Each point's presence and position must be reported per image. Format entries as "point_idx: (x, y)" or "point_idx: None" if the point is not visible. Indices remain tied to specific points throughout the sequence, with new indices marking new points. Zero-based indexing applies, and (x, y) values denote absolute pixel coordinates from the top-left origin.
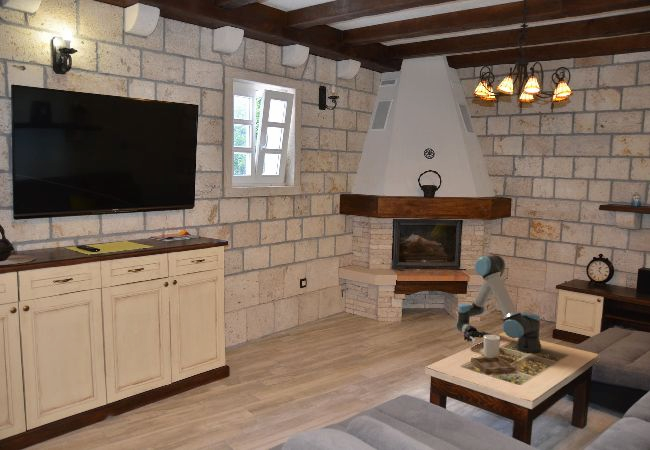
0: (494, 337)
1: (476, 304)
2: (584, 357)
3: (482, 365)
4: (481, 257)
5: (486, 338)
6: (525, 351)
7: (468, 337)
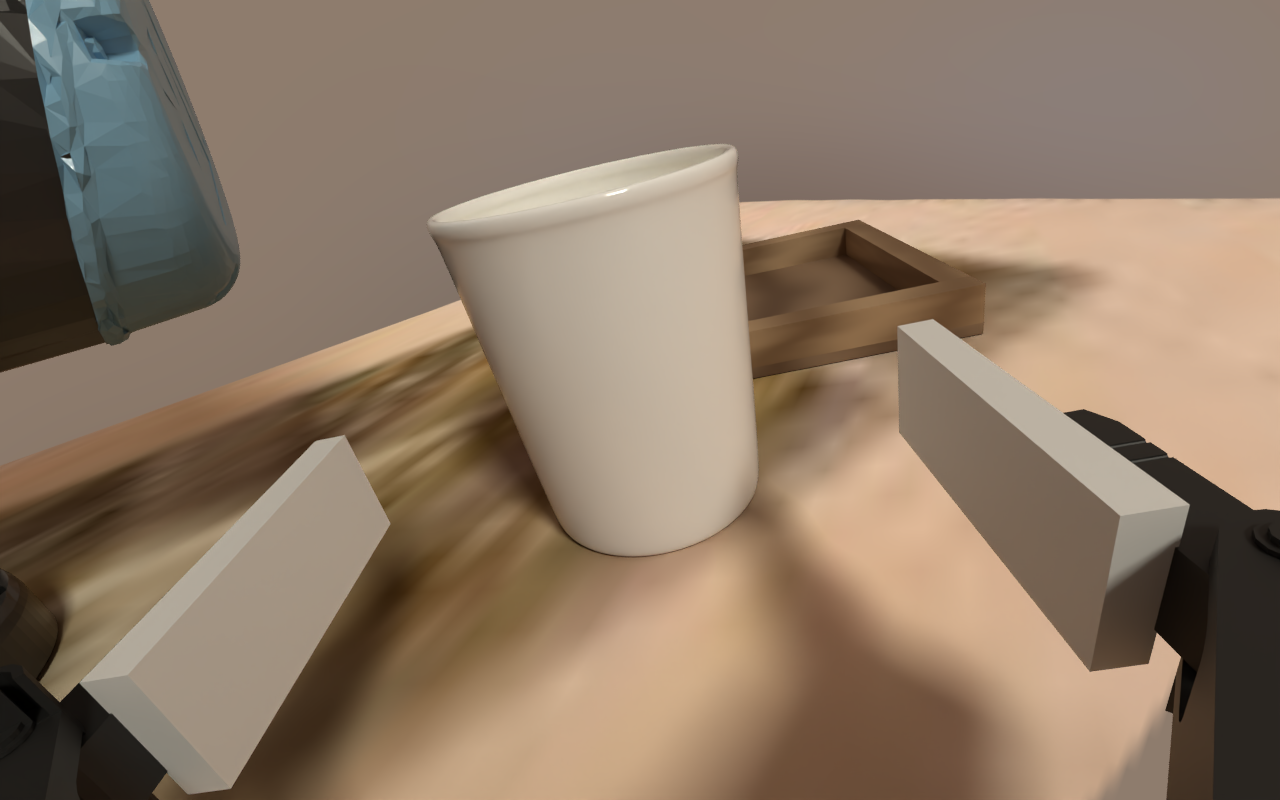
0: (465, 272)
1: None
2: None
3: (872, 236)
4: None
5: (712, 146)
6: (52, 622)
7: (1244, 533)
